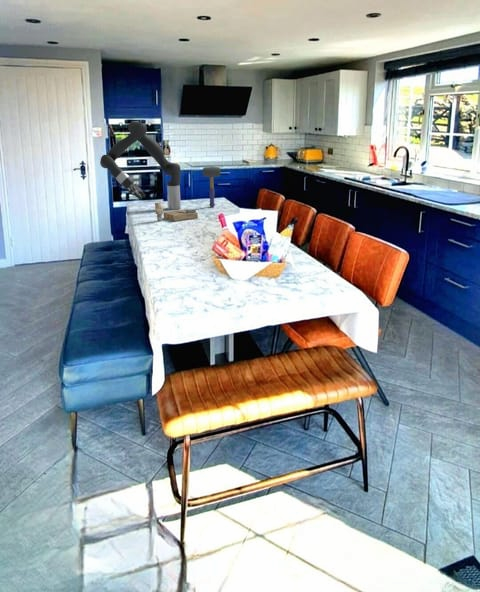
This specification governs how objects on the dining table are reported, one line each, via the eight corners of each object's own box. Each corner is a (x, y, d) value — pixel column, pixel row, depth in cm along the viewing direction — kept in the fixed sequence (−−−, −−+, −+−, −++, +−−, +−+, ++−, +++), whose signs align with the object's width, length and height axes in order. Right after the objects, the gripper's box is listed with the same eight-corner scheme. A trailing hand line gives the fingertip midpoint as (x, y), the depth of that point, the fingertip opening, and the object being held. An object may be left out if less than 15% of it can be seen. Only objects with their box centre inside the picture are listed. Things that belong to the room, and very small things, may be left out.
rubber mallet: (219, 206, 391) (219, 166, 380) (221, 207, 384) (220, 167, 373) (203, 206, 389) (202, 166, 378) (204, 208, 382) (203, 167, 371)
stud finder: (185, 212, 346) (185, 209, 345) (193, 211, 350) (193, 208, 349) (188, 213, 344) (188, 210, 343) (195, 212, 347) (195, 209, 346)
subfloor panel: (163, 217, 349) (163, 212, 347) (186, 214, 359) (186, 209, 358) (174, 221, 338) (174, 215, 336) (197, 218, 348) (197, 212, 346)
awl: (154, 220, 340) (153, 202, 336) (161, 219, 343) (160, 202, 339) (158, 222, 336) (157, 204, 332) (164, 221, 339) (163, 203, 335)
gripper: (124, 177, 325) (143, 195, 328) (131, 174, 338) (149, 192, 341) (117, 185, 327) (136, 203, 330) (124, 182, 340) (142, 200, 343)
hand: (143, 197), depth 335 cm, fingers open, 8 cm apart
